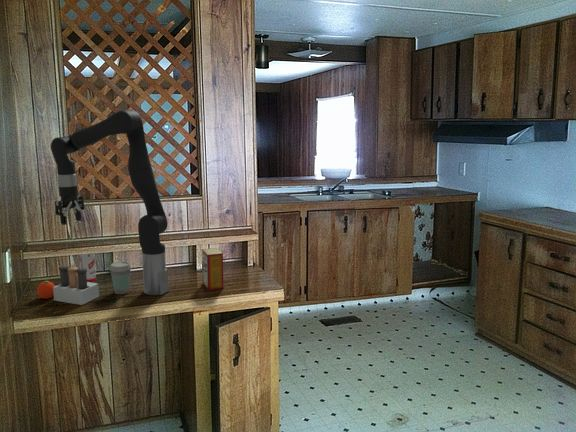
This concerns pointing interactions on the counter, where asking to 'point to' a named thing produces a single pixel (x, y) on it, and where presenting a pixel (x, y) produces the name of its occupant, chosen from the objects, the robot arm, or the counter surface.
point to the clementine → (45, 290)
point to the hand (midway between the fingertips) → (71, 222)
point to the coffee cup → (120, 277)
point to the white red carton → (88, 266)
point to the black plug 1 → (64, 276)
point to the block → (76, 293)
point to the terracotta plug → (73, 277)
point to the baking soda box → (212, 268)
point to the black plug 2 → (82, 278)
